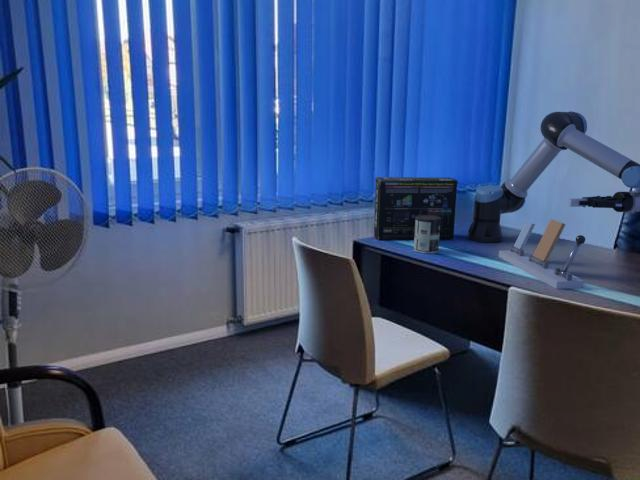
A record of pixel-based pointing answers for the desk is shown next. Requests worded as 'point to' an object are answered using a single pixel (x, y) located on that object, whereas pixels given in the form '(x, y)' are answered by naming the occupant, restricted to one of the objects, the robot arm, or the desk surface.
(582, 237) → the grey metal toggle
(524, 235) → the pale blue paddle
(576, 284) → the switch panel
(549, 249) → the brown paddle
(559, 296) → the desk surface
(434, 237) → the coffee can
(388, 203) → the router box
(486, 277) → the desk surface
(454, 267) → the desk surface
